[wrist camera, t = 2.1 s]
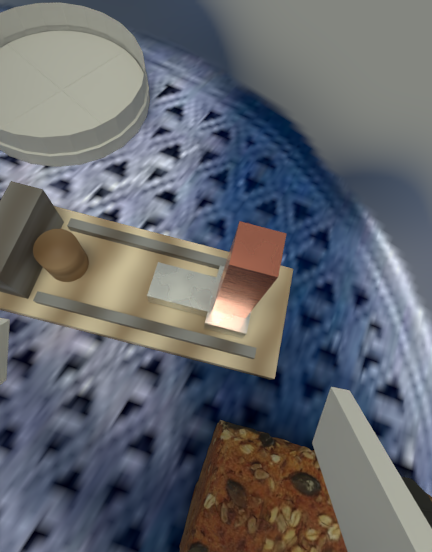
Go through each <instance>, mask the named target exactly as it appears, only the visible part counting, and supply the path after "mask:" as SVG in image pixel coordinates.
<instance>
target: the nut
mask: <svg viewBox="0 0 432 552" xmlns="http://www.w3.org/2000/svg"><path fill="white" fill-rule="evenodd" d="M33 255H34V257H35V259H36V261H37V262H38V263H39V264H40V265H41V266H42V267H43V268H44V269H45V270H46V271H47V272H48V273H49V274H50V275H52V276H53V277H54V278H55V279H56V280H59V281H62V282H72V281H75V280H77V279H79V278H81V277H82V276H83V275H84V274H85V272H86V271H87V269H88V265H89V260H88V256H87V254H86V253H85V251H84V250H83V248H82V246H81V245H80V243H79V242H78V240H77V238H76V237H75V236H74V235H73V234H72V233H71V232H69V231H67V230H64V229H51V230H48V231H46V232H44V233H43V234H41V235H40V236H39V237H38V238H37V240H36V241H35V243H34V246H33Z"/></svg>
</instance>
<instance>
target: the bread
mask: <svg viewBox="0 0 432 552" xmlns="http://www.w3.org/2000/svg"><path fill="white" fill-rule="evenodd" d="M427 495H428V494H427ZM428 496H429V498H430V499H431V501H432V497H431V496H430V495H428ZM179 547H180V552H348V551H347V548H346V545H345V542H344V539H343V536H342V533H341V530H340V527H339V524H338V521H337V518H336V515H335V512H334V509H333V505H332V502H331V499H330V496H329V493H328V490H327V487H326V484H325V481H324V478H323V475H322V472H321V469H320V466H319V463H318V459H317V456H316V453H315V450H313V451H311V450H310V449H309V448H307V447H305V446H300V445H297V444H293V443H290V442H288V441H286V440H284V439H279V438H273V437H271V436H270V435H269V434H268V433H264V432H258V431H256V430H255V429H251V428H247V427H243V426H239V425H235V424H232V423H229V422H225V421H222V420H220V422H219V423H218V424H217V426H216V428H215V431H214V434H213V437H212V441H211V444H210V446H209V448H208V452H207V456H206V459H205V461H204V464H203V467H202V470H201V474H200V477H199V480H198V482H197V484H196V486H195V490H194V493H193V497H192V501H191V504H190V508H189V512H188V516H187V520H186V524H185V529H184V533H183V536H182V540H181V543H180V545H179Z"/></svg>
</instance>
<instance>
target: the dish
mask: <svg viewBox="0 0 432 552" xmlns="http://www.w3.org/2000/svg"><path fill="white" fill-rule="evenodd" d="M149 102H150V96H149V86H148V80H147V74H146V71H145V64H144V58H143V52H142V50H141V48H140V46H139V45H138V43H137V41H136V39H135V37H134V36H133V35H132V34H131V33H130V32H129V31H128V30H127V29H126V28H125V27H124V26H123V25H122V24H121V23H119V22H118V21H116V20H114V19H113V18H111V17H109V16H107V15H106V14H104V13H102V12H99V11H96V10H93V9H90V8H87V7H84V6H79V5H72V4H65V3H36V4H31V5H25V6H20V7H15V8H12V9H9V10H7V11H4V12H1V13H0V150H1V151H3V152H4V153H5V154H7V155H8V156H11V157H14V158H16V159H19V160H22V161H25V162H28V163H30V164H37V165H45V166H53V167H60V166H71V165H81V164H84V163H87V162H91V161H94V160H97V159H101V158H104V157H106V156H107V155H109V154H111V153H113V152H114V151H116V150H118V149H120V148H122V147H123V146H124V145H125V144H126V143H127V142H128V141H129V140H130V139H132V138H133V137H134V136H135V135H136V134H137V133H138V131H139V129H140V128H141V126H142V124H143V122H144V121H145V119H146V117H147V113H148V108H149Z"/></svg>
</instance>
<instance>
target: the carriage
mask: <svg viewBox="0 0 432 552" xmlns="http://www.w3.org/2000/svg"><path fill="white" fill-rule="evenodd" d="M285 238H286V233H282V232H278V231H274V230H271V229H267V228H263V227H259V226H255V225H252V224H248V223H244V222H239V225H238V228H237V231H236V234H235V237H234V240H233V243H232V246H231V249H230V252H229V255H228V258H227V261H226V264H225V267H224V266H220V267H219V270H218V273H217V277H213V276H209V275H206V274H202V273H198V272H194V271H190V270H186V269H183V268H179V267H175V266H171V265H167V264H164V263H160V262H158V264H157V267H156V270H155V273H154V276H153V279H152V282H151V285H150V288H149V291H148V294H147V298H148V301H149V302H151V303H155V304H158V305H162V306H166V307H170V308H174V309H178V310H182V311H185V312H189V313H193V314H197V315H201V316H205V317H206V320H205V324H204V329H208V330H212V331H216V332H220V333H223V334H227V335H231V336H235V337H239V338H243V337H244V336H245V335H246V334H247V329H248V324H249V320H250V315H251V311H252V310H253V308H254V307H255V306H256V305H257V303H258V302H259V301H260V300H261V298H262V297H263V296H264V295H265V293H266V292H267V291H268V289H269V288H270V287H271V286H272V284H273V283H274V282H275V281H276V279H277V278H278V276H279V270H280V265H281V260H282V254H283V249H284V243H285Z"/></svg>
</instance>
